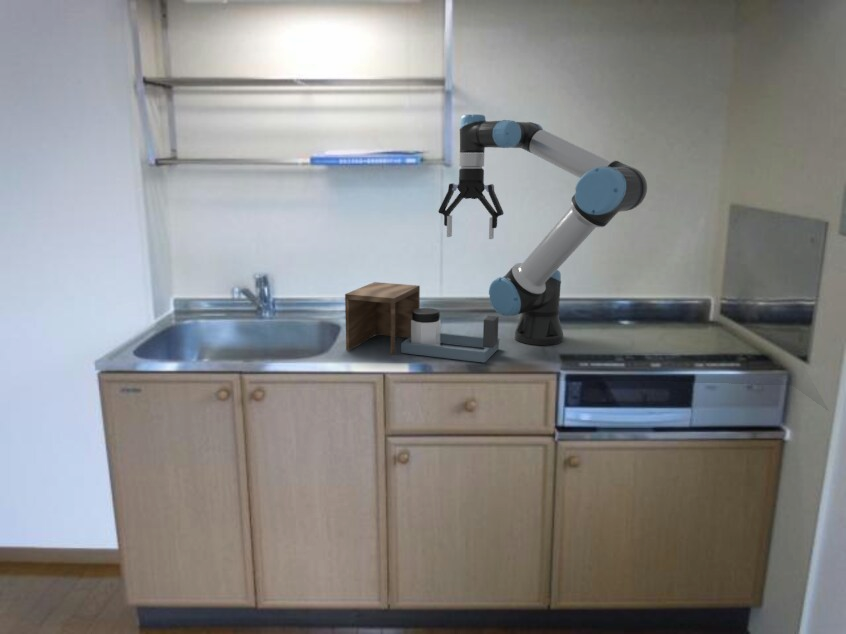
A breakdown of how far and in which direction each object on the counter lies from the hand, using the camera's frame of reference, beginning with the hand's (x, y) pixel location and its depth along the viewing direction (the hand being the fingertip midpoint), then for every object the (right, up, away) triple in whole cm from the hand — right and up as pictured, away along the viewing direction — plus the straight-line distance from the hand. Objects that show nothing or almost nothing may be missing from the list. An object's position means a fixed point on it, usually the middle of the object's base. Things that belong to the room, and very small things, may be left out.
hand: (470, 237), depth 209 cm
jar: (-14, -35, -8) cm, 38 cm away
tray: (-6, -35, -10) cm, 36 cm away
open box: (-26, -33, -2) cm, 42 cm away
